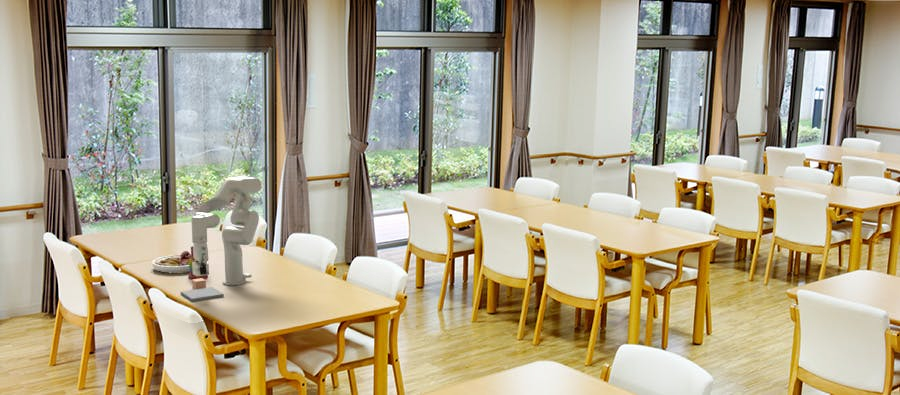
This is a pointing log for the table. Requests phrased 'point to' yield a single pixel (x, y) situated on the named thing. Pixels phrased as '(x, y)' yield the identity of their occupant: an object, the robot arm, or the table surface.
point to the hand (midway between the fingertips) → (200, 272)
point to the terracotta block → (198, 283)
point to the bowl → (173, 263)
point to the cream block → (196, 269)
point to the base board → (202, 294)
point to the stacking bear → (191, 267)
